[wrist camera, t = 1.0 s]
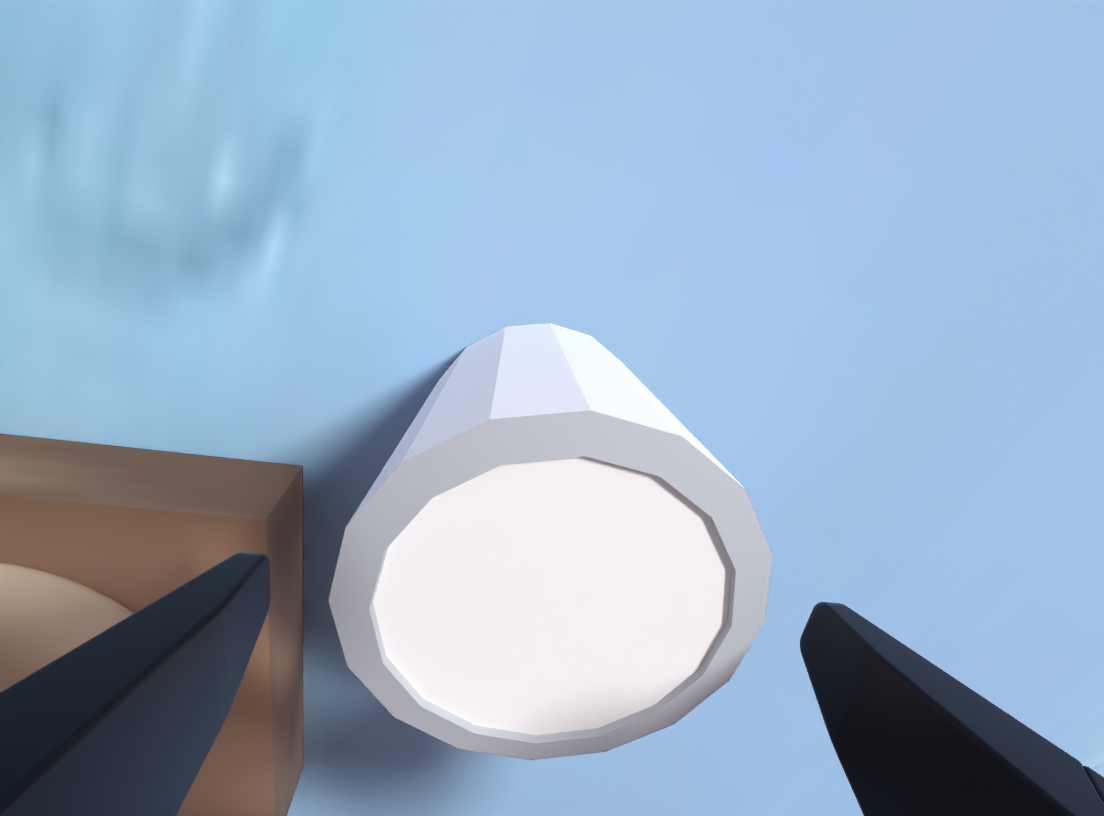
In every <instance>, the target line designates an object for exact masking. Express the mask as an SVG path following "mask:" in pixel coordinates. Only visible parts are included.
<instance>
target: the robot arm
mask: <svg viewBox="0 0 1104 816" xmlns="http://www.w3.org/2000/svg"><path fill="white" fill-rule="evenodd" d="M270 599H271V588H270V561H269V558H268V556H266V555H265V554H261V553H250V552H239V553H236V554H234V555H232V556H231V557H229V558H227V559H226V560H224V561H222V562H220V563H219V564H217V565H215V566H214V567H212V568H210V569H209V570H207V571H205V572H203V573H202V574H200V575H198V576H197V577H195V578H193V579H192V580H190V581H188V582H186V583H185V584H183V585H181V586H180V587H178V588H176V589H175V590H173V591H171V592H169V593H168V594H166V595H164V596H163V597H161V598H159V599H158V600H156V601H154V602H152V603H151V604H149V605H147V606H146V607H144V608H142V609H141V610H139V611H137V612H135V613H134V614H132V615H130V616H129V617H127V618H125V619H123V620H122V621H120V622H118V623H117V624H115V625H113V626H112V627H110V628H108V629H106V630H105V631H103V632H101V633H100V634H98V635H96V636H95V637H93V638H91V639H89V640H88V641H86V642H84V643H83V644H81V645H79V646H78V647H76V648H74V649H72V650H71V651H69V652H67V653H66V654H64V655H62V656H61V657H59V658H57V659H55V660H54V661H52V662H50V663H49V664H47V665H45V666H44V667H42V668H40V669H38V670H37V671H35V672H33V673H32V674H30V675H28V676H27V677H25V678H23V679H21V680H20V681H18V682H16V683H15V684H13V685H11V686H10V687H8V688H6V689H4V690H3V691H1V692H0V816H177V814H178V812H179V810H180V808H181V806H182V804H183V802H184V800H185V798H186V796H187V794H188V792H189V790H190V788H191V787H192V785H193V783H194V781H195V779H196V777H197V775H198V773H199V771H200V769H201V767H202V765H203V763H204V761H205V759H206V757H207V755H208V753H209V751H210V749H211V747H212V745H213V743H214V742H215V740H216V738H217V736H218V734H219V732H220V730H221V728H222V726H223V724H224V722H225V720H226V717H227V715H228V713H229V711H230V709H231V706H232V704H233V701H234V699H235V697H236V694H237V691H238V689H239V686H240V684H241V681H242V678H243V676H244V673H245V671H246V668H247V665H248V663H249V660H250V658H251V655H252V652H253V650H254V647H255V645H256V642H257V639H258V637H259V634H260V631H261V629H262V626H263V624H264V621H265V618H266V616H267V613H268V610H269V606H270ZM800 649H801V654H802V657H803V660H804V663H805V666H806V669H807V672H808V675H809V678H810V681H811V683H812V686H813V689H814V692H815V695H816V698H817V701H818V704H819V707H820V710H821V713H822V716H823V719H824V722H825V725H826V728H827V730H828V733H829V736H830V739H831V741H832V744H833V746H834V749H835V751H836V753H837V756H838V758H839V760H840V763H841V765H842V767H843V769H844V772H845V774H846V776H847V778H848V781H849V783H850V785H851V788H852V790H853V792H854V794H855V797H856V799H857V801H858V803H859V806H860V808H861V810H862V812H863V815H864V816H1104V777H1102V776H1101V775H1099V774H1098V773H1096V772H1095V771H1093V770H1092V769H1090V768H1089V767H1087V766H1082V764H1081V763H1080V762H1079V761H1078V760H1077V759H1075V758H1074V757H1072V756H1071V755H1069V754H1068V753H1066V752H1065V751H1063V750H1062V749H1060V748H1059V747H1057V746H1056V745H1054V744H1053V743H1051V742H1050V741H1048V740H1047V739H1045V738H1044V737H1042V736H1041V735H1039V734H1038V733H1036V732H1035V731H1033V730H1032V729H1030V728H1029V727H1027V726H1026V725H1024V724H1023V723H1021V722H1020V721H1018V720H1017V719H1015V718H1014V717H1012V716H1011V715H1009V714H1008V713H1006V712H1005V711H1003V710H1002V709H1000V708H998V707H997V706H995V705H994V704H992V703H991V702H989V701H988V700H986V699H985V698H983V697H982V696H980V695H979V694H977V693H976V692H974V691H973V690H971V689H970V688H968V687H967V686H965V685H964V684H962V683H961V682H959V681H958V680H956V679H955V678H953V677H952V676H950V675H949V674H947V673H946V672H944V671H943V670H941V669H940V668H938V667H937V666H935V665H934V664H932V663H931V662H929V661H928V660H926V659H925V658H923V657H922V656H920V655H919V654H917V653H916V652H914V651H913V650H911V649H910V648H908V647H907V646H905V645H904V644H902V643H901V642H899V641H898V640H896V639H895V638H893V637H892V636H890V635H889V634H887V633H886V632H884V631H883V630H881V629H880V628H878V627H877V626H875V625H874V624H872V623H871V622H869V621H868V620H866V619H865V618H863V617H862V616H860V615H859V614H857V613H856V612H854V611H853V610H851V609H850V608H848V607H847V606H845V605H843V604H839V603H829V602H820V603H818V604H817V605H815V606H814V608H813V610H812V613H811V615H810V617H809V619H808V622H807V624H806V626H805V629H804V631H803V633H802V636H801V639H800Z"/></svg>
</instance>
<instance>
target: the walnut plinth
mask: <svg viewBox="0 0 1104 816" xmlns="http://www.w3.org/2000/svg"><path fill="white" fill-rule="evenodd" d="M239 552H250V553H261V554H265V555H266V556H268V558H269V561H270V588H271V599H270V606H269V610H268V613H267V616H266V618H265V621H264V624H263V626H262V629H261V631H260V634H259V637H258V639H257V642H256V645H255V647H254V650H253V652H252V655H251V658H250V660H249V663H248V665H247V668H246V671H245V673H244V676H243V678H242V681H241V684H240V686H239V689H238V691H237V694H236V697H235V699H234V701H233V704H232V706H231V709H230V711H229V713H228V715H227V717H226V720H225V722H224V724H223V726H222V728H221V730H220V732H219V734H218V736H217V738H216V740H215V742H214V743H213V745H212V747H211V749H210V751H209V753H208V755H207V757H206V759H205V761H204V763H203V765H202V767H201V769H200V771H199V773H198V775H197V777H196V779H195V781H194V783H193V785H192V787H191V788H190V790H189V792H188V794H187V796H186V798H185V800H184V802H183V804H182V806H181V808H180V810H179V812H178V814H177V816H287V813H288V810H289V807H290V804H291V801H292V798H293V795H294V792H295V789H296V787H297V784H298V781H299V778H300V775H301V772H302V769H303V466H297V465H288V464H278V463H269V462H260V461H250V460H241V459H232V458H222V457H213V456H203V455H194V454H185V453H175V452H166V451H157V450H147V449H138V448H129V447H119V446H110V445H101V444H91V443H82V442H73V441H63V440H54V439H44V438H35V437H26V436H16V435H7V434H0V692H1V691H3V690H4V689H6V688H8V687H10V686H11V685H13V684H15V683H16V682H18V681H20V680H21V679H23V678H25V677H27V676H28V675H30V674H32V673H33V672H35V671H37V670H38V669H40V668H42V667H44V666H45V665H47V664H49V663H50V662H52V661H54V660H55V659H57V658H59V657H61V656H62V655H64V654H66V653H67V652H69V651H71V650H72V649H74V648H76V647H78V646H79V645H81V644H83V643H84V642H86V641H88V640H89V639H91V638H93V637H95V636H96V635H98V634H100V633H101V632H103V631H105V630H106V629H108V628H110V627H112V626H113V625H115V624H117V623H118V622H120V621H122V620H123V619H125V618H127V617H129V616H130V615H132V614H134V613H135V612H137V611H139V610H141V609H142V608H144V607H146V606H147V605H149V604H151V603H152V602H154V601H156V600H158V599H159V598H161V597H163V596H164V595H166V594H168V593H169V592H171V591H173V590H175V589H176V588H178V587H180V586H181V585H183V584H185V583H186V582H188V581H190V580H192V579H193V578H195V577H197V576H198V575H200V574H202V573H203V572H205V571H207V570H209V569H210V568H212V567H214V566H215V565H217V564H219V563H220V562H222V561H224V560H226V559H227V558H229V557H231V556H232V555H234V554H236V553H239Z"/></svg>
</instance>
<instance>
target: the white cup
mask: <svg viewBox="0 0 1104 816" xmlns="http://www.w3.org/2000/svg"><path fill="white" fill-rule="evenodd" d="M771 564H772V553H771V550H770V548H769V545H768V543H767V540H766V538H765V536H764V533H763V531H762V528H761V526H760V523H759V521H758V518H757V516H756V514H755V511H754V509H753V506H752V504H751V501H750V499H749V497H748V494H747V492H746V489H745V488H744V487H743V486H742V485H741V484H740V483H739V482H738V481H737V480H736V479H735V478H734V477H733V476H732V475H731V474H730V473H729V472H728V471H727V470H726V469H725V468H724V467H723V466H722V465H721V464H720V462H719V461H718V460H717V459H716V458H715V457H714V456H713V455H712V454H711V453H710V452H709V451H708V450H707V449H706V448H705V447H704V446H703V445H702V444H701V443H700V442H699V441H698V440H697V439H696V438H695V437H694V436H693V435H692V434H691V433H690V432H689V431H688V430H687V429H686V428H685V427H684V426H683V425H682V424H681V423H680V422H679V420H678V419H677V418H676V417H675V416H674V415H673V414H672V413H671V412H670V411H669V410H668V409H667V408H666V407H665V406H664V405H663V404H662V403H661V402H660V401H659V400H658V399H657V398H656V397H655V396H654V395H653V394H652V393H651V392H650V391H649V390H648V389H647V388H646V387H645V386H644V385H643V384H642V383H641V382H640V381H639V380H638V378H637V377H636V376H635V375H634V374H633V373H632V372H631V371H630V370H629V369H628V368H627V367H626V366H625V365H624V364H623V363H622V362H621V361H620V360H618V359H617V358H616V357H615V356H614V355H613V354H611V353H610V352H609V351H608V350H607V349H606V348H604V347H603V346H602V345H601V344H600V343H599V342H597V341H596V340H595V339H594V338H593V337H591V336H590V335H586V334H583V333H580V332H577V331H574V330H570V329H567V328H564V327H561V326H558V325H554V324H551V323H544V324H532V325H520V326H508V327H504V328H502V329H500V330H498V331H496V332H494V333H492V334H490V335H488V336H486V337H484V338H482V339H480V340H478V341H476V342H474V343H472V344H471V345H469V346H467V347H466V348H465V349H464V350H463V351H462V353H461V354H460V355H459V356H458V357H457V359H456V360H455V361H454V362H453V363H452V365H451V366H450V367H449V368H448V369H447V371H446V372H445V373H444V374H443V375H442V376H441V378H440V379H439V381H438V382H437V384H436V385H435V387H434V389H433V390H432V392H431V393H430V395H429V396H428V398H427V400H426V401H425V403H424V404H423V406H422V408H421V409H420V411H419V412H418V414H417V415H416V417H415V419H414V420H413V422H412V423H411V425H410V427H409V428H408V430H407V431H406V433H405V434H404V436H403V438H402V439H401V441H400V442H399V444H398V446H397V447H396V449H395V450H394V452H393V453H392V455H391V457H390V458H389V460H388V461H387V463H386V465H385V466H384V468H383V469H382V471H381V472H380V474H379V476H378V477H377V479H376V480H375V482H374V483H373V485H372V487H371V488H370V490H369V491H368V493H367V495H366V496H365V498H364V499H363V501H362V502H361V504H360V506H359V507H358V509H357V510H356V512H355V514H354V515H353V517H352V518H351V520H350V521H349V523H348V525H347V526H346V528H345V532H344V536H343V540H342V544H341V549H340V553H339V557H338V561H337V566H336V570H335V574H334V578H333V583H332V587H331V591H330V595H329V600H328V601H329V605H330V608H331V612H332V615H333V618H334V622H335V625H336V629H337V632H338V636H339V639H340V643H341V646H342V649H343V653H344V656H345V660H346V663H347V667H348V668H349V669H350V670H351V671H352V672H353V673H354V674H355V675H356V676H357V677H358V678H359V680H360V681H361V682H362V683H363V684H364V685H365V686H366V687H367V688H368V689H369V690H370V692H371V693H372V694H373V695H374V696H375V697H376V698H377V699H378V700H379V701H380V702H381V704H382V705H383V706H384V707H385V708H386V709H387V710H388V711H389V712H390V713H391V714H392V715H393V717H395V718H397V719H399V720H401V721H403V722H405V723H407V724H409V725H411V726H413V727H415V728H417V729H419V730H421V731H423V732H425V733H427V734H429V735H431V736H433V737H435V738H437V739H439V740H441V741H443V742H446V743H448V744H450V745H452V746H454V747H456V748H458V749H463V750H469V751H476V752H482V753H488V754H495V755H501V756H508V757H514V758H521V759H527V760H537V759H546V758H555V757H563V756H572V755H581V754H589V753H598V752H606V751H608V750H611V749H613V748H616V747H618V746H621V745H623V744H626V743H628V742H631V741H633V740H636V739H638V738H641V737H643V736H646V735H648V734H651V733H653V732H656V731H658V730H661V729H663V728H666V727H668V726H671V725H673V724H675V723H676V722H677V721H679V720H680V719H681V718H682V717H684V716H685V715H686V714H687V713H689V712H690V711H691V710H692V709H694V708H695V707H696V706H698V705H699V704H700V703H701V702H703V701H704V700H705V699H706V698H708V697H709V696H710V695H711V694H713V693H714V692H715V691H716V690H718V689H719V688H720V687H721V686H723V685H724V684H725V683H726V682H728V681H729V680H730V678H731V677H732V675H733V674H734V672H735V670H736V669H737V667H738V665H739V664H740V662H741V660H742V659H743V657H744V655H745V654H746V652H747V651H748V649H749V647H750V646H751V644H752V642H753V641H754V639H755V637H756V636H757V634H758V633H759V631H760V629H761V628H762V626H763V624H764V623H765V618H766V609H767V600H768V591H769V582H770V573H771Z"/></svg>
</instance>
